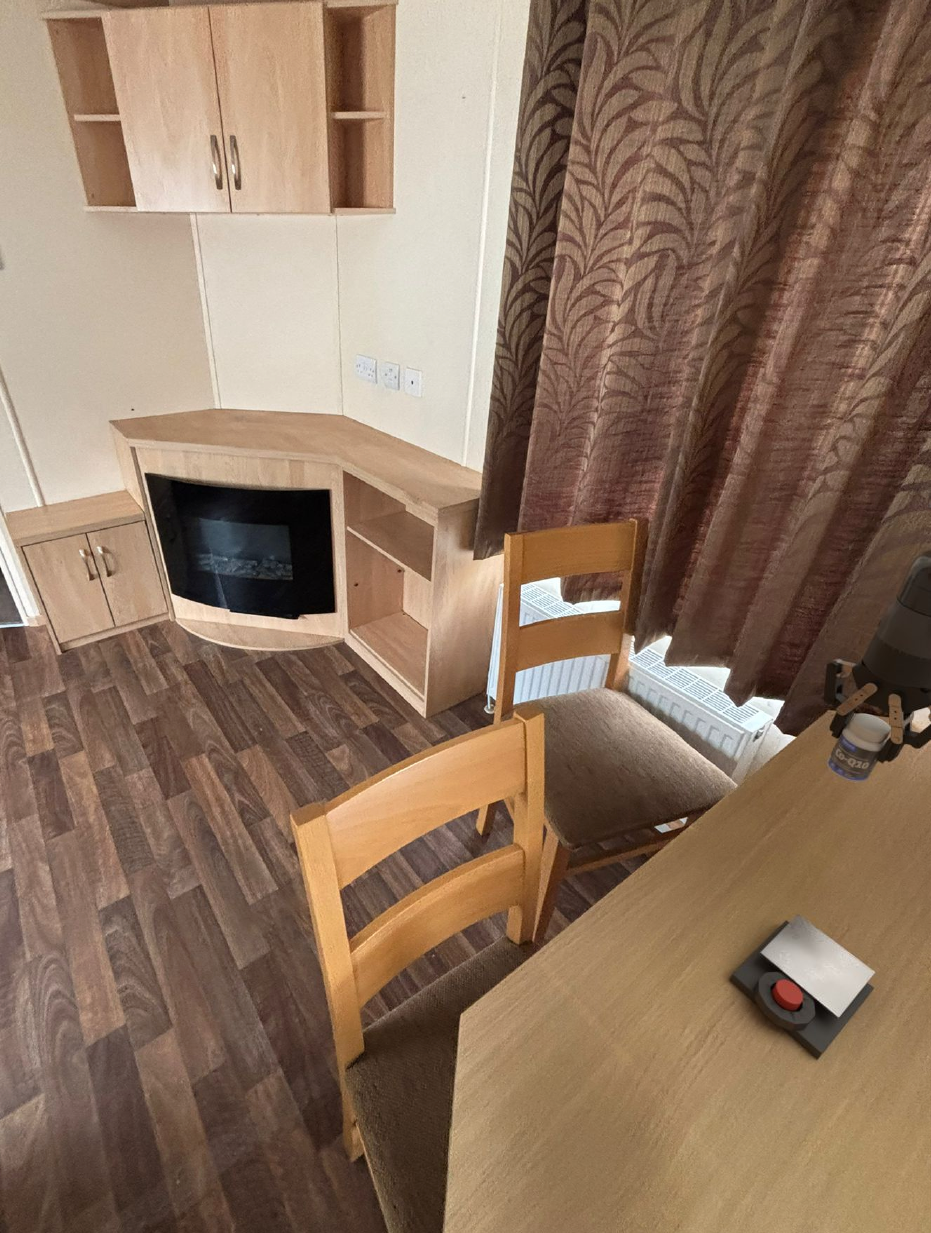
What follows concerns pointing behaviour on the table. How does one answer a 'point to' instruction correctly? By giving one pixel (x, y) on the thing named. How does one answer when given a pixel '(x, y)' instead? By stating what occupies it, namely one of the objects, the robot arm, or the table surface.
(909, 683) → the robot arm
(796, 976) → the pan
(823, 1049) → the scale
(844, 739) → the pill bottle
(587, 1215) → the table surface
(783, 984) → the tare button
